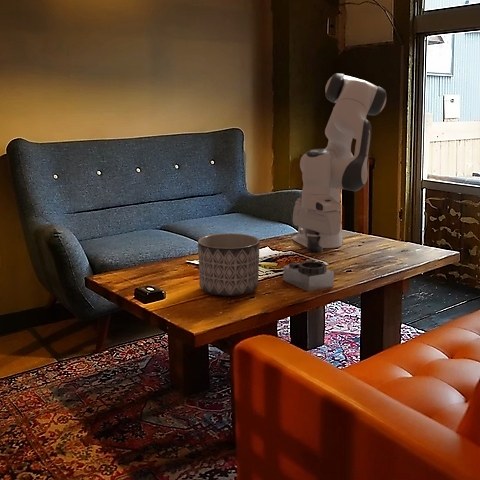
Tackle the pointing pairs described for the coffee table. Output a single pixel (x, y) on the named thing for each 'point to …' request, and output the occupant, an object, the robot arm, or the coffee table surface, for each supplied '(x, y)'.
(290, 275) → the camera body
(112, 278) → the coffee table surface
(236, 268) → the planter
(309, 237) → the lens
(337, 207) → the robot arm
